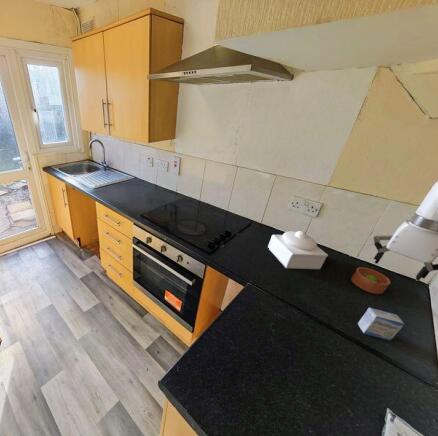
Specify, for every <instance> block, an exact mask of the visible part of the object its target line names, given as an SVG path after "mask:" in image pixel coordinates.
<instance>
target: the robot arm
mask: <svg viewBox="0 0 438 436" xmlns="http://www.w3.org/2000/svg"><path fill="white" fill-rule="evenodd" d="M373 241H374V242H373V243H374V246H375V248H376V250H377V253H376V254H375V256H374V257H373V260H375V261H374V264H377V265H378V264H379V262H380V261H381V260H382V258H383V256H384V254H385V253H386V252H390V251H391V252H393V253H395V254H398V255H401V256H404V257H406V258H409V259H411V260H414V261H418V262H420V263H423V265H424V266H422V267H421V269H420V270H419V271H418V272H417V274H416V276H415V280H417V281H418V282H419V281H420V280H421V279H426V277H427V276H428V275H429V274H430V272H434V271H438V263H435V264H434V263H433V262H435V260H436V259H437V258H438V180H437V181H436V182H435V183H434V184H433V185H432V186H431V189H429V192H427V194H426V196H425V197H424V199H423V200H422V202H421V203H420V205H419V206H418V208H417V209H416V211H415V212H414V214H413V215H412V217H411V218H410V219H409V220H408V219H407V220H405V221H403V222H402V223H401V224H400V225H399V226H398V228H397V229H396V230H395V231H394V233H393V234H392V235H388V234H387V235H383V234H382V235H374V236H373ZM381 241H387V244H385V245H382V242H381Z"/></svg>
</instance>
